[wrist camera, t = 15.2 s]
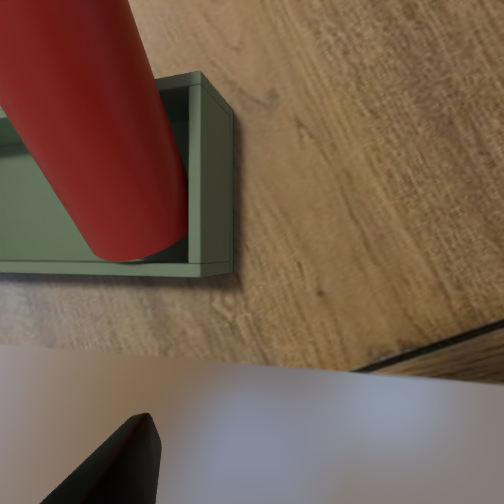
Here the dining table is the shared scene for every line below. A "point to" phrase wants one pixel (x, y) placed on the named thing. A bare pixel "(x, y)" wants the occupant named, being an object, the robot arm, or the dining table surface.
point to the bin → (68, 236)
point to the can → (94, 122)
